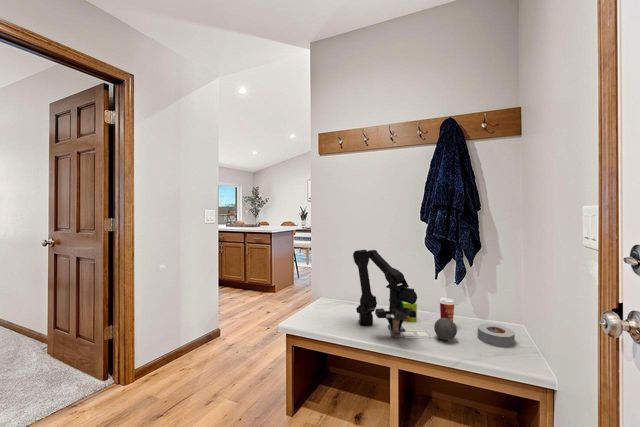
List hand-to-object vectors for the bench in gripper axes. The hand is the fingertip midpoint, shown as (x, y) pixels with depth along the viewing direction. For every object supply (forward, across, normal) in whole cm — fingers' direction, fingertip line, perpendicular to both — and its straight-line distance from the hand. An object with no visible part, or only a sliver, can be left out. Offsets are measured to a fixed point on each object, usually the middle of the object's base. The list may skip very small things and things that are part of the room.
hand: (395, 330), depth 150 cm
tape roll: (+4, +47, -6) cm, 47 cm away
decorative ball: (+3, +23, -4) cm, 24 cm away
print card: (+3, +11, +2) cm, 12 cm away
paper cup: (+3, +31, +11) cm, 33 cm away
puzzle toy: (+4, +13, +23) cm, 27 cm away
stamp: (+2, 0, 0) cm, 3 cm away
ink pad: (+3, +3, +8) cm, 9 cm away
